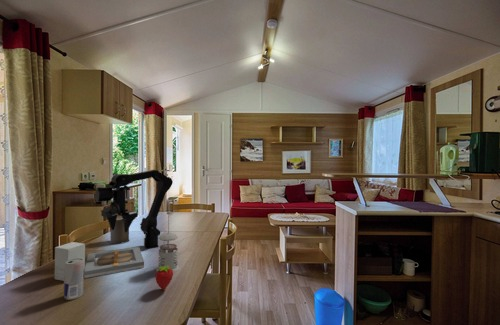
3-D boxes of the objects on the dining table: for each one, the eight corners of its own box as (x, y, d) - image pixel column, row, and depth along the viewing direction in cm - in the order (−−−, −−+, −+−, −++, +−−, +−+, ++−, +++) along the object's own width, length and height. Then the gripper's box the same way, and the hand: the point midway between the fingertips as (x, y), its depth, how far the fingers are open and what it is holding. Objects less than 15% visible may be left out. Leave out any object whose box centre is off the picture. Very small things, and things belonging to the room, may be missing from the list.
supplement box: (85, 274, 102) (86, 243, 102) (67, 282, 95) (67, 249, 95) (72, 271, 104) (73, 241, 104) (53, 279, 97) (54, 246, 97)
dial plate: (138, 251, 129) (138, 246, 129) (144, 267, 110) (144, 260, 110) (88, 259, 118) (88, 253, 118) (84, 278, 99) (84, 270, 99)
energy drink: (70, 292, 88) (71, 258, 88) (86, 291, 88) (86, 258, 88) (60, 300, 83) (60, 264, 83) (77, 300, 83) (77, 264, 83)
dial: (97, 258, 116) (97, 246, 116) (130, 252, 123) (130, 242, 123) (97, 269, 104) (97, 256, 104) (133, 262, 111) (134, 250, 111)
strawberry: (175, 285, 94) (176, 258, 94) (168, 295, 87) (169, 266, 87) (160, 284, 95) (160, 258, 95) (151, 295, 87) (152, 266, 87)
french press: (157, 275, 102) (158, 214, 102) (154, 264, 113) (155, 209, 113) (181, 270, 107) (182, 212, 107) (176, 261, 117) (177, 207, 117)
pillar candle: (132, 239, 149) (132, 214, 149) (122, 244, 139) (122, 217, 140) (117, 238, 150) (117, 213, 150) (106, 243, 140) (106, 217, 140)
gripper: (91, 200, 120) (90, 232, 121) (118, 203, 113) (118, 237, 113) (111, 197, 131) (111, 227, 131) (138, 200, 123) (138, 231, 124)
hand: (119, 230), depth 124 cm, fingers open, 9 cm apart
